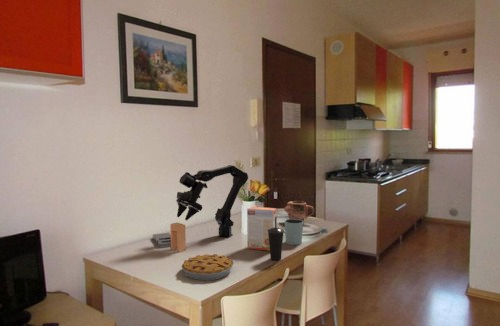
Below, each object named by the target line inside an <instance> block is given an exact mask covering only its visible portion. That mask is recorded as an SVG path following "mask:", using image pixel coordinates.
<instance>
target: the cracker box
mask: <svg viewBox="0 0 500 326" xmlns="http://www.w3.org/2000/svg"><path fill="white" fill-rule="evenodd" d="M246 211H247V212H246V214H247V215H246V217H247V221H246V222H247V225H246V228H247V231H246V232H247V234H246V235H247V249H248V250H257V251H268V252H270V246H269V236H268V229H271V228H274V227H275V217H277V208H275V207H259V206H250V207H247V209H246Z"/></svg>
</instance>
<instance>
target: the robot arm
mask: <svg viewBox="0 0 500 326" xmlns="http://www.w3.org/2000/svg"><path fill="white" fill-rule="evenodd" d="M228 174H230V176H232V186H231V188H230V190H229V193H228V195H227V196H226V199H225V201H224V204H222V205H223V206H222V207H221V208H217V211H216V213H214V215H215V216H214V219H215V221H216V223H217V225H218V226H219V227H218V235H217V237H219V238H226V239H228V238H231V237H232V236H233V233H232V227H233V226H234V221H233V220H231V216H232V213H231V212H232V208H233V206H234V204H235V201H236V199H237V197H238V195H239V192H240V190H241V188H242V187H243V186H244V185H245V184H247V183H246V182H247V181H248V180H249V175H248V173H247V172H245V171H243V170H241V169H239V168H238V167H237V166H235V165H230V164H228V165H226V166H223V167H219V168H214V169H205V170H203V169H201V170H198V171H197V173H196V174H193V175H192V174H191V173H190V172H187V171H185V173H184V174H183V175H181V176H180V178H179V183H180V185H183V186H184V187H186V188H188V189H190V190H187V191H183V192H182V191H177V194H176V200H175V201H176V204H177V207H178V209H177V214H176V218H180V217H181V216H182V215H183V214H184V212H185V211H186V210H187V209H188V210H187V213H186V215H185V218H184V219H185V221H188V220H189V219H191V218H192V217H193V216H194V215H196V214H197V213H199V212H202V209H203V205H202V204H200V203H198V200H199V199H200V198H201V196H200V195H201V194H202V191H203V189H208V185H207V182H210V181H211V180H213V179H214V178H217V177H220V176H223V175H228Z"/></svg>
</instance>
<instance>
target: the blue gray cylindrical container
mask: <svg viewBox="0 0 500 326" xmlns="http://www.w3.org/2000/svg"><path fill="white" fill-rule="evenodd" d="M304 224H305V220H304V221H303V220H300V219H289V218H286V219H284V233H285V235H284V236H285V244H286V245H290V246H299V245H301V244H302V241H303V231H304Z"/></svg>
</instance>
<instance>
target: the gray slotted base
mask: <svg viewBox="0 0 500 326" xmlns="http://www.w3.org/2000/svg"><path fill="white" fill-rule="evenodd" d="M152 239H153V240H154V243H155V244H156V245H157V246H158V248H159V249H162V248H169V247H170V248H171V233H170V232H162V233H156V234H152Z"/></svg>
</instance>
